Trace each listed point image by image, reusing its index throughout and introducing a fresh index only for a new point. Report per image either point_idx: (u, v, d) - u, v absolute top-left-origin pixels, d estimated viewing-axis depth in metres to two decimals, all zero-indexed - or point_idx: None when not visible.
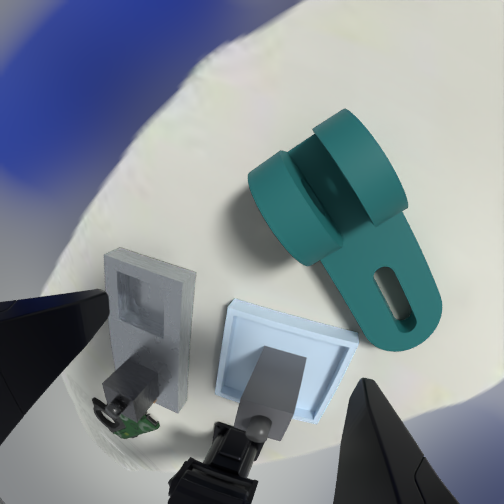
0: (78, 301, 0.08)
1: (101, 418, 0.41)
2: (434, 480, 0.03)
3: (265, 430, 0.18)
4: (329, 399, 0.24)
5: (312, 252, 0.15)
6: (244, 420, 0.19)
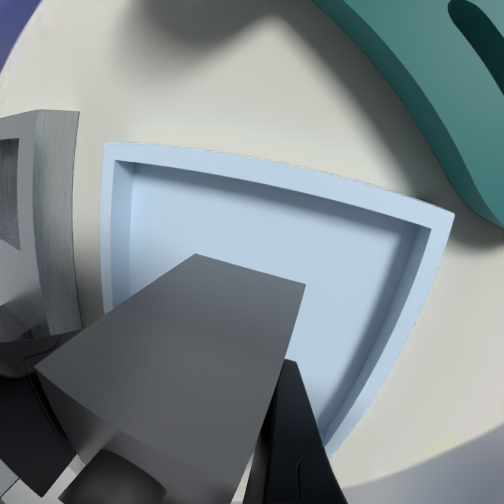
0: None
1: None
2: (330, 474, 0.04)
3: None
4: (366, 402, 0.09)
5: None
6: (90, 454, 0.04)
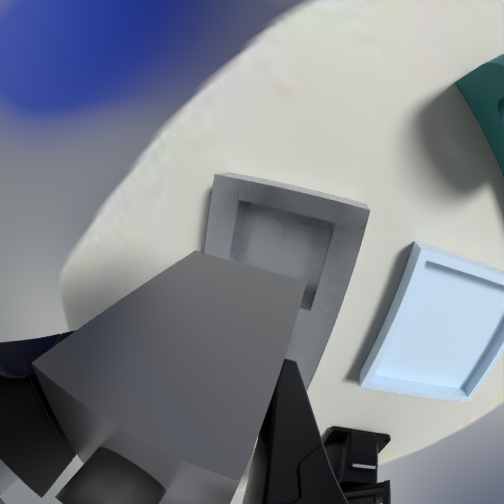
0: None
1: None
2: (329, 474, 0.04)
3: None
4: (493, 365, 0.15)
5: None
6: (88, 452, 0.04)
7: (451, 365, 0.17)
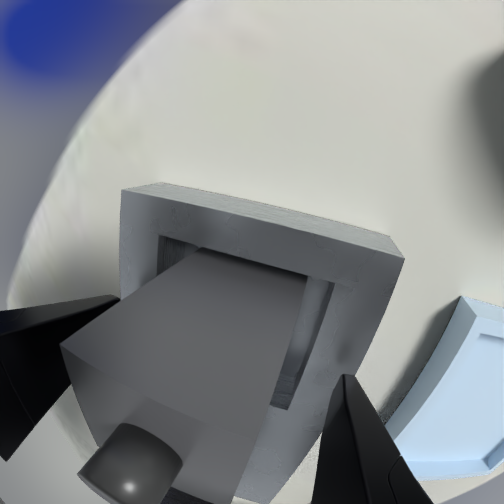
0: (91, 308, 0.08)
1: None
2: (410, 480, 0.03)
3: (138, 488, 0.03)
4: None
5: None
6: (107, 432, 0.05)
7: (478, 441, 0.10)
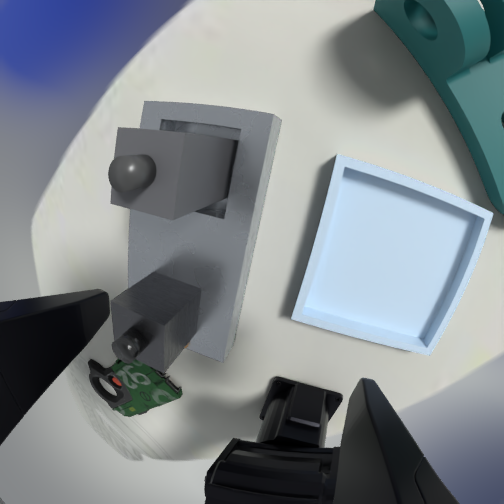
0: (78, 301, 0.08)
1: (99, 389, 0.33)
2: (434, 480, 0.03)
3: (137, 161, 0.11)
4: (454, 308, 0.16)
5: (474, 33, 0.07)
6: None
7: (402, 305, 0.18)
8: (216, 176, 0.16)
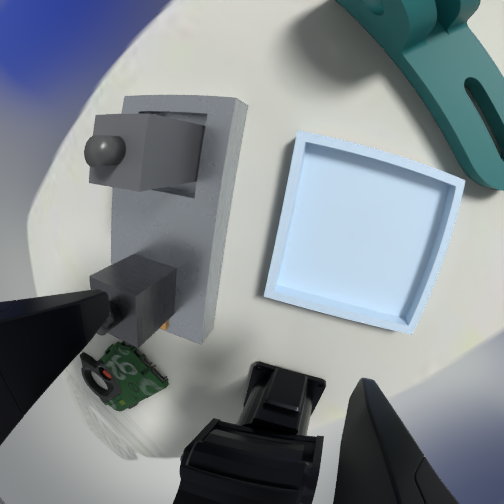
0: (78, 301, 0.08)
1: (91, 383, 0.33)
2: (434, 480, 0.03)
3: (107, 139, 0.12)
4: (433, 281, 0.16)
5: None
6: None
7: (377, 281, 0.18)
8: (186, 157, 0.17)
